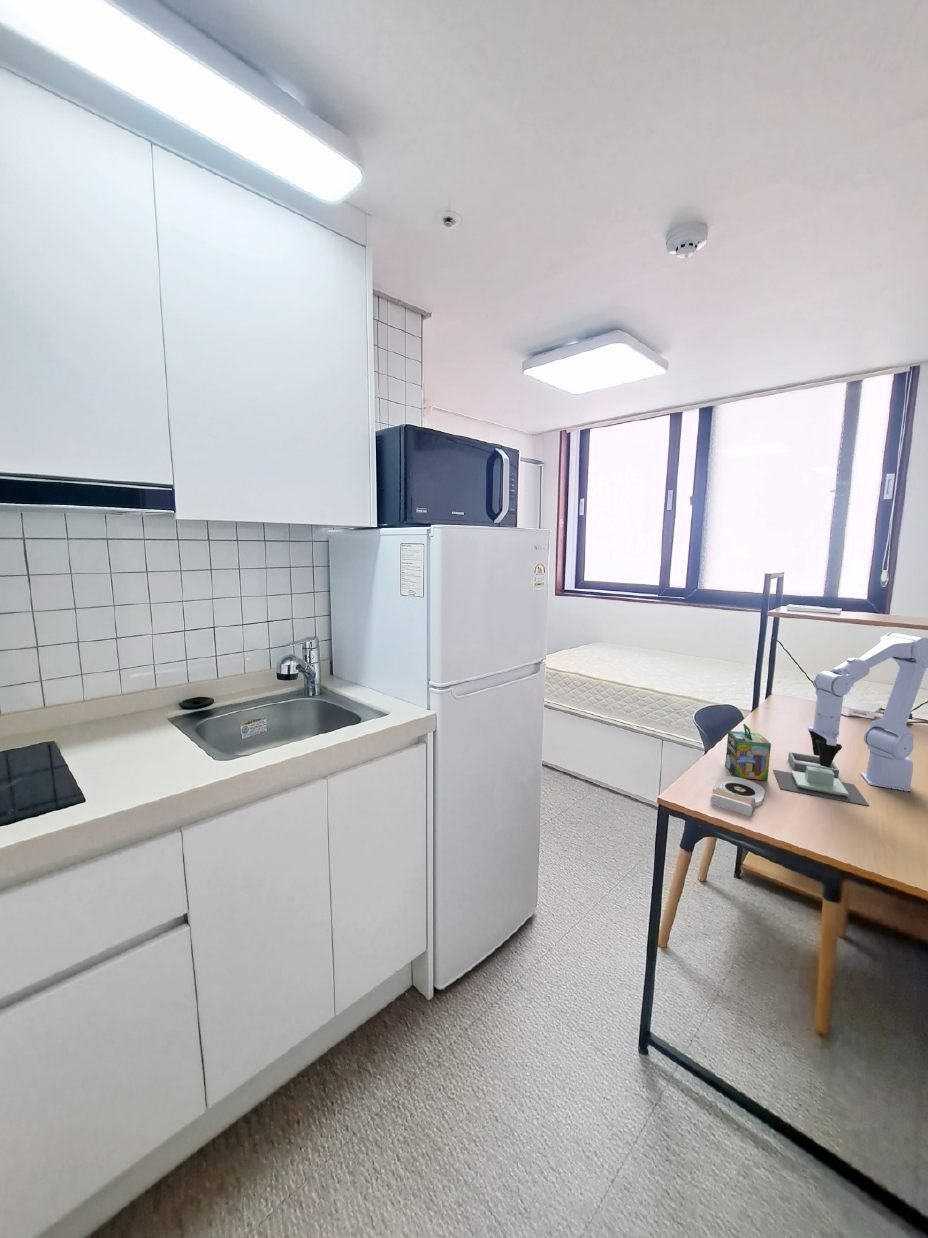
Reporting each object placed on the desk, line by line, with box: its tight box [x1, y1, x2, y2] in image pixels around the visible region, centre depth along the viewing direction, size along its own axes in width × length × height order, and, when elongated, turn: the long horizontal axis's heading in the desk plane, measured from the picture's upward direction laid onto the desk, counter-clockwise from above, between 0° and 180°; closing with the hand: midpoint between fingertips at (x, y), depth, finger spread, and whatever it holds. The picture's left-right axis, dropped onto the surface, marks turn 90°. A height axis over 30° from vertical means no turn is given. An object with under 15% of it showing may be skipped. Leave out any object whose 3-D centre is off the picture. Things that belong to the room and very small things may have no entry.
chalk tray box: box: [787, 751, 840, 779], centre depth 148 cm, size 11×9×4 cm
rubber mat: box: [772, 769, 870, 807], centre depth 138 cm, size 20×13×1 cm, turn 65°
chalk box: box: [724, 723, 772, 781], centre depth 145 cm, size 9×9×15 cm
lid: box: [790, 766, 849, 796], centre depth 137 cm, size 12×10×5 cm
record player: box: [710, 775, 766, 817], centre depth 132 cm, size 12×3×20 cm
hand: (821, 760), depth 137 cm, fingers open, 7 cm apart
